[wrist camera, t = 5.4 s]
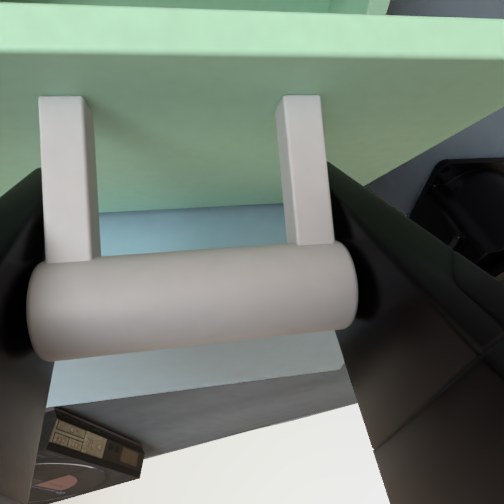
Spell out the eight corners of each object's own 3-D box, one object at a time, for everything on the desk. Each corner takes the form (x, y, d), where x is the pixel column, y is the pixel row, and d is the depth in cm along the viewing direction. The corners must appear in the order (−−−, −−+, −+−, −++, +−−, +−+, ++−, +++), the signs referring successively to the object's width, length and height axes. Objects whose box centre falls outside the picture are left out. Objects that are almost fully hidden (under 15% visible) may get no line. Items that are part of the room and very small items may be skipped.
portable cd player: (144, 442, 51) (144, 476, 48) (31, 475, 53) (25, 510, 50) (59, 404, 38) (52, 447, 36) (-84, 449, 40) (-100, 493, 38)
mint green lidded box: (-91, -196, 10) (-179, -201, 8) (370, -145, 13) (430, -136, 10) (36, 143, 18) (15, 202, 15) (311, 137, 20) (336, 187, 18)
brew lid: (-430, -17, 4) (-453, 440, 4) (585, 19, 7) (630, 311, 6) (12, 199, 15) (18, 326, 15) (337, 185, 17) (348, 294, 17)
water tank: (298, 155, 21) (368, 318, 14) (287, 213, 24) (340, 370, 17) (55, 162, 19) (-2, 357, 12) (77, 225, 22) (42, 409, 15)
